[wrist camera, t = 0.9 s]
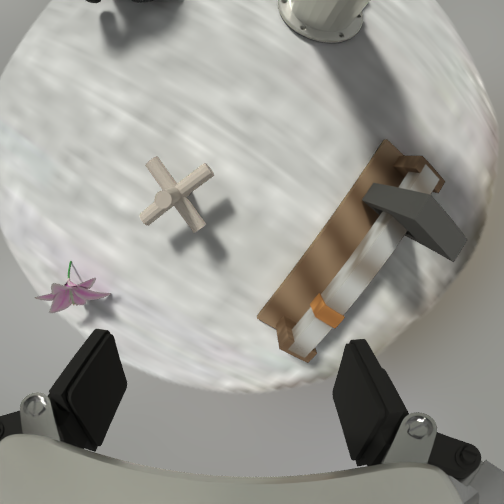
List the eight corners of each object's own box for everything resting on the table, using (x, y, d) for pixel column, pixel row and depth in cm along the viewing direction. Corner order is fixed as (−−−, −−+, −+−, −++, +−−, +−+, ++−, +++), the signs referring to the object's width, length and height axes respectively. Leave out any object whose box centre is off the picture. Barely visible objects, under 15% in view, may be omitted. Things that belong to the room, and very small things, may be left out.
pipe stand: (383, 139, 34) (409, 136, 27) (430, 187, 36) (459, 193, 29) (257, 315, 42) (258, 342, 35) (312, 345, 44) (321, 373, 37)
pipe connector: (236, 199, 37) (232, 210, 27) (177, 240, 38) (156, 265, 29) (193, 138, 34) (174, 129, 25) (136, 183, 36) (102, 191, 26)
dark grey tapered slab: (373, 182, 35) (430, 194, 22) (408, 215, 36) (467, 239, 23) (361, 199, 36) (414, 219, 23) (397, 231, 37) (453, 262, 24)
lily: (59, 295, 42) (52, 338, 35) (34, 245, 35) (19, 289, 28) (115, 286, 46) (116, 329, 39) (97, 232, 38) (91, 276, 31)
